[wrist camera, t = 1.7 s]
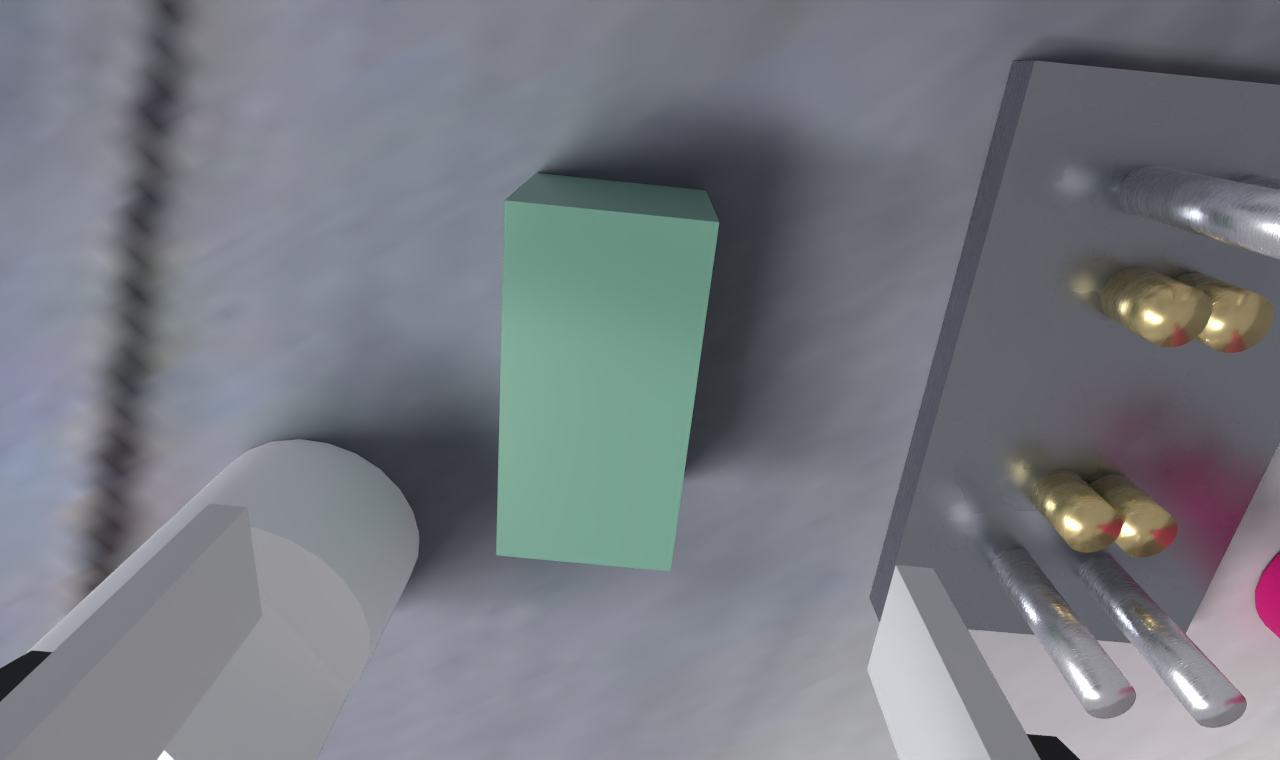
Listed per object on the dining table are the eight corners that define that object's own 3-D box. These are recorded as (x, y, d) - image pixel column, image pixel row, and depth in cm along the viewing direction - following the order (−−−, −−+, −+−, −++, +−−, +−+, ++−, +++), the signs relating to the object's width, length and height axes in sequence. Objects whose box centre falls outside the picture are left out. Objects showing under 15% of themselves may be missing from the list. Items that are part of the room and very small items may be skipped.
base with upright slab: (166, 494, 31) (-102, 727, 20) (333, 403, 29) (139, 605, 18) (300, 640, 34) (131, 912, 23) (459, 566, 32) (358, 824, 21)
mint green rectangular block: (536, 172, 26) (504, 200, 20) (705, 189, 26) (719, 222, 20) (525, 467, 30) (496, 555, 25) (667, 480, 31) (670, 571, 25)
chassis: (1012, 61, 24) (1187, 57, 16) (1401, 99, 24) (1759, 114, 16) (869, 598, 33) (937, 765, 25) (1156, 622, 33) (1314, 796, 25)
